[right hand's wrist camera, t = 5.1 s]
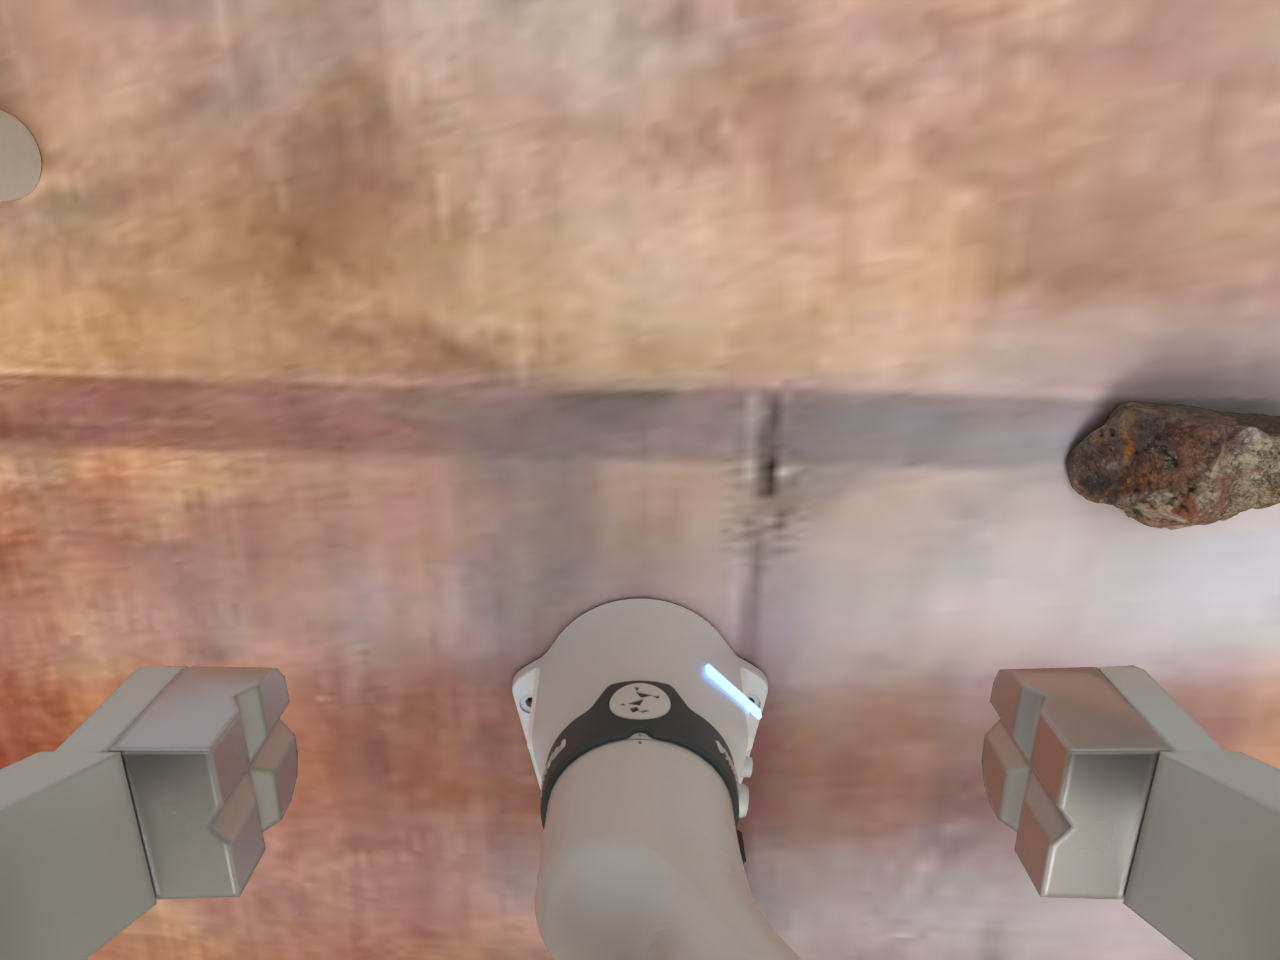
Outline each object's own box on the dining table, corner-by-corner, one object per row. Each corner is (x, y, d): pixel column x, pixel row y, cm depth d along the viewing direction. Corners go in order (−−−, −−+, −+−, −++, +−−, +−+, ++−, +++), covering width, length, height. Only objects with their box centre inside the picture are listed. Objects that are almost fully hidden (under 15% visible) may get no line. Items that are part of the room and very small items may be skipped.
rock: (1096, 359, 58) (1045, 498, 62) (1158, 389, 50) (1095, 547, 53) (1314, 402, 58) (1251, 540, 61) (1412, 440, 50) (1333, 595, 53)
